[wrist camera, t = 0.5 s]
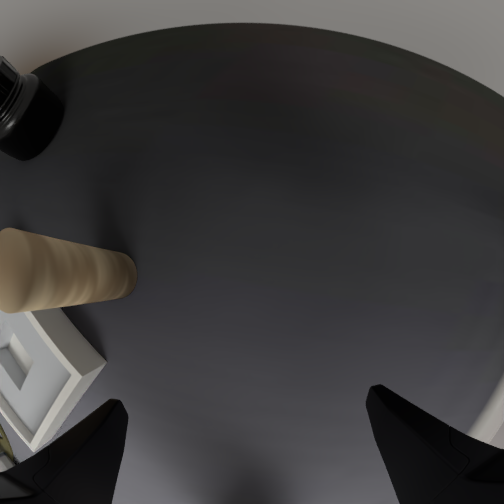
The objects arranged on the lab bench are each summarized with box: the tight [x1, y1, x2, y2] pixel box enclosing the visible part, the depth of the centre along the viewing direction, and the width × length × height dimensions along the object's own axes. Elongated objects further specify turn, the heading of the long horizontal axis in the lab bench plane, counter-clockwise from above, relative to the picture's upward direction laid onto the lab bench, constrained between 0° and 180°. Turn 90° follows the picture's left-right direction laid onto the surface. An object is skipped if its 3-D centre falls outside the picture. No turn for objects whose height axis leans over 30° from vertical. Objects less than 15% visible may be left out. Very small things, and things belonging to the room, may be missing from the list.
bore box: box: [0, 307, 107, 452], centre depth 19 cm, size 16×16×4 cm
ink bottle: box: [0, 56, 63, 161], centre depth 17 cm, size 10×9×12 cm
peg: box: [0, 228, 137, 314], centre depth 15 cm, size 4×4×13 cm
